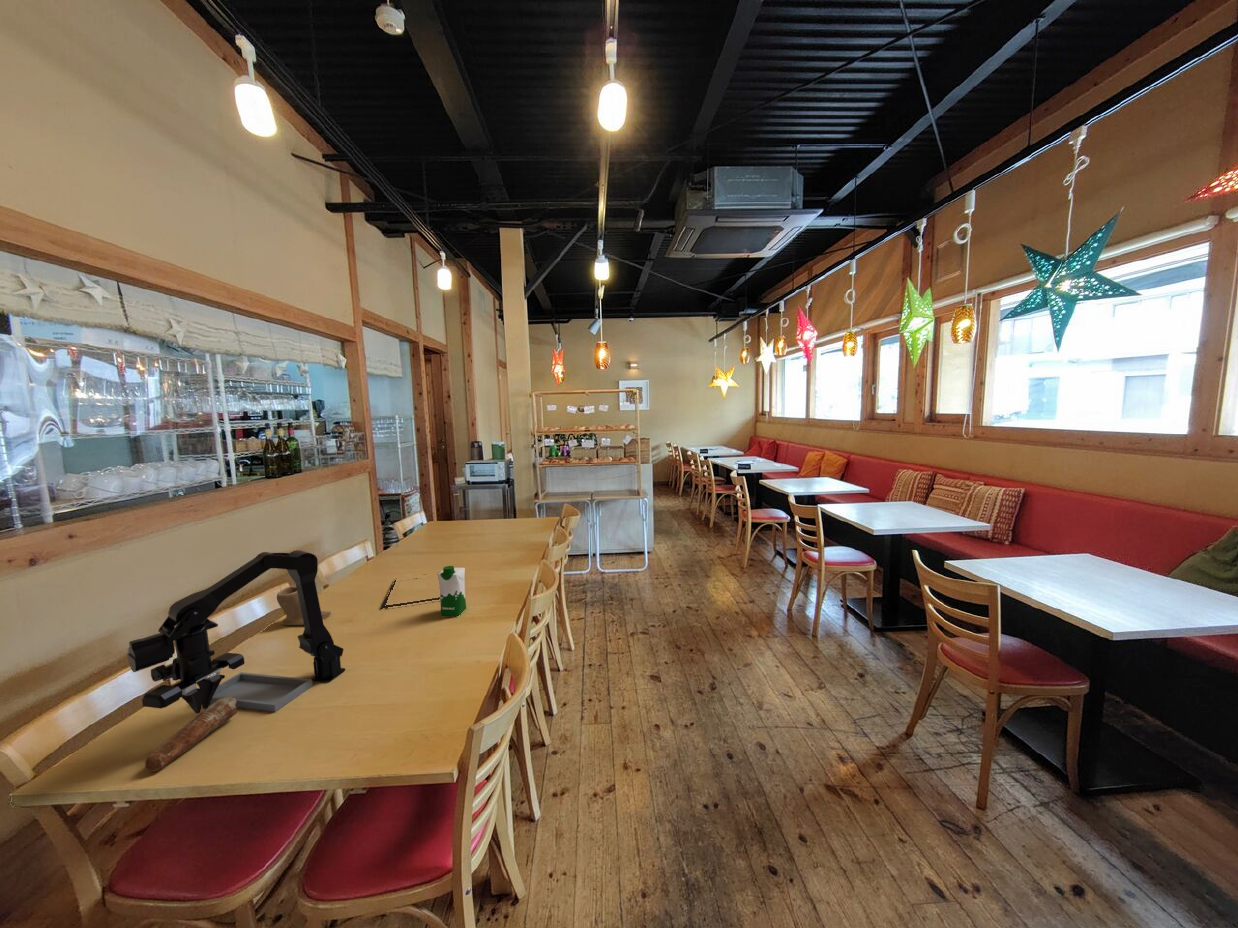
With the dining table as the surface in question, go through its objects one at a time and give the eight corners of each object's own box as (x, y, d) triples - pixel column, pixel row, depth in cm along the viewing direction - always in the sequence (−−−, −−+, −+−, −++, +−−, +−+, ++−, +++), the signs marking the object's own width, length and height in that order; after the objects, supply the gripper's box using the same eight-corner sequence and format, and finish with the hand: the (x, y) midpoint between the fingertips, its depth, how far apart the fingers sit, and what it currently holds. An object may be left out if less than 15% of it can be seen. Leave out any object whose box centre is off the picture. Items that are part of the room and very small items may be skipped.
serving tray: (312, 687, 130) (311, 679, 130) (275, 713, 119) (274, 704, 119) (242, 679, 135) (241, 672, 134) (199, 704, 123) (198, 696, 123)
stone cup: (271, 629, 167) (267, 591, 165) (298, 615, 179) (294, 579, 177) (307, 631, 165) (303, 592, 163) (332, 617, 177) (329, 580, 175)
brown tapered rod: (240, 716, 117) (241, 697, 116) (158, 777, 98) (159, 756, 97) (218, 710, 118) (219, 691, 117) (133, 770, 99) (133, 749, 98)
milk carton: (438, 619, 172) (434, 569, 170) (449, 609, 181) (446, 561, 179) (459, 620, 171) (456, 569, 169) (469, 609, 180) (466, 561, 178)
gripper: (208, 630, 119) (215, 685, 120) (118, 669, 100) (128, 733, 102) (242, 632, 117) (249, 688, 118) (157, 673, 98) (167, 739, 100)
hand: (201, 710), depth 110 cm, fingers closed
